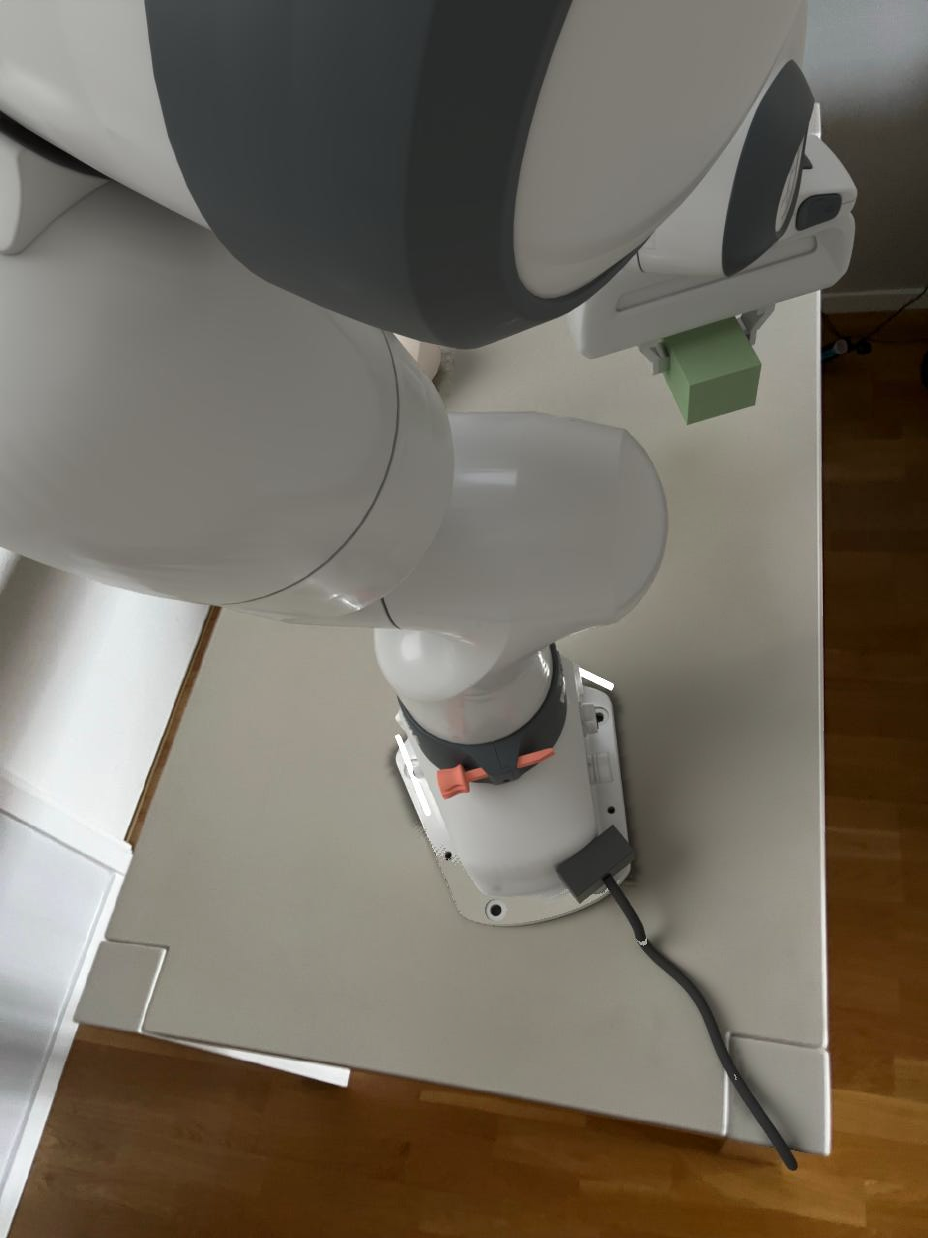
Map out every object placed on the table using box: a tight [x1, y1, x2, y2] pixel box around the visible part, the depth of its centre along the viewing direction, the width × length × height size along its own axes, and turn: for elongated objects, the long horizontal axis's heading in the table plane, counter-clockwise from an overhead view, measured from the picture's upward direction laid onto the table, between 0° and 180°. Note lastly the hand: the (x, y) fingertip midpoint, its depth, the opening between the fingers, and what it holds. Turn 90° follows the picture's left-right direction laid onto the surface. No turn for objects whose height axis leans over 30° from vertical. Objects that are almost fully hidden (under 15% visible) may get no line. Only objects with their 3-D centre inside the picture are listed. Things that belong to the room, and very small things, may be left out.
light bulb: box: [393, 333, 442, 382], centre depth 91 cm, size 7×7×11 cm
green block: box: [657, 316, 762, 426], centre depth 69 cm, size 10×6×4 cm, turn 13°
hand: (700, 354), depth 69 cm, fingers closed on green block, 5 cm apart
